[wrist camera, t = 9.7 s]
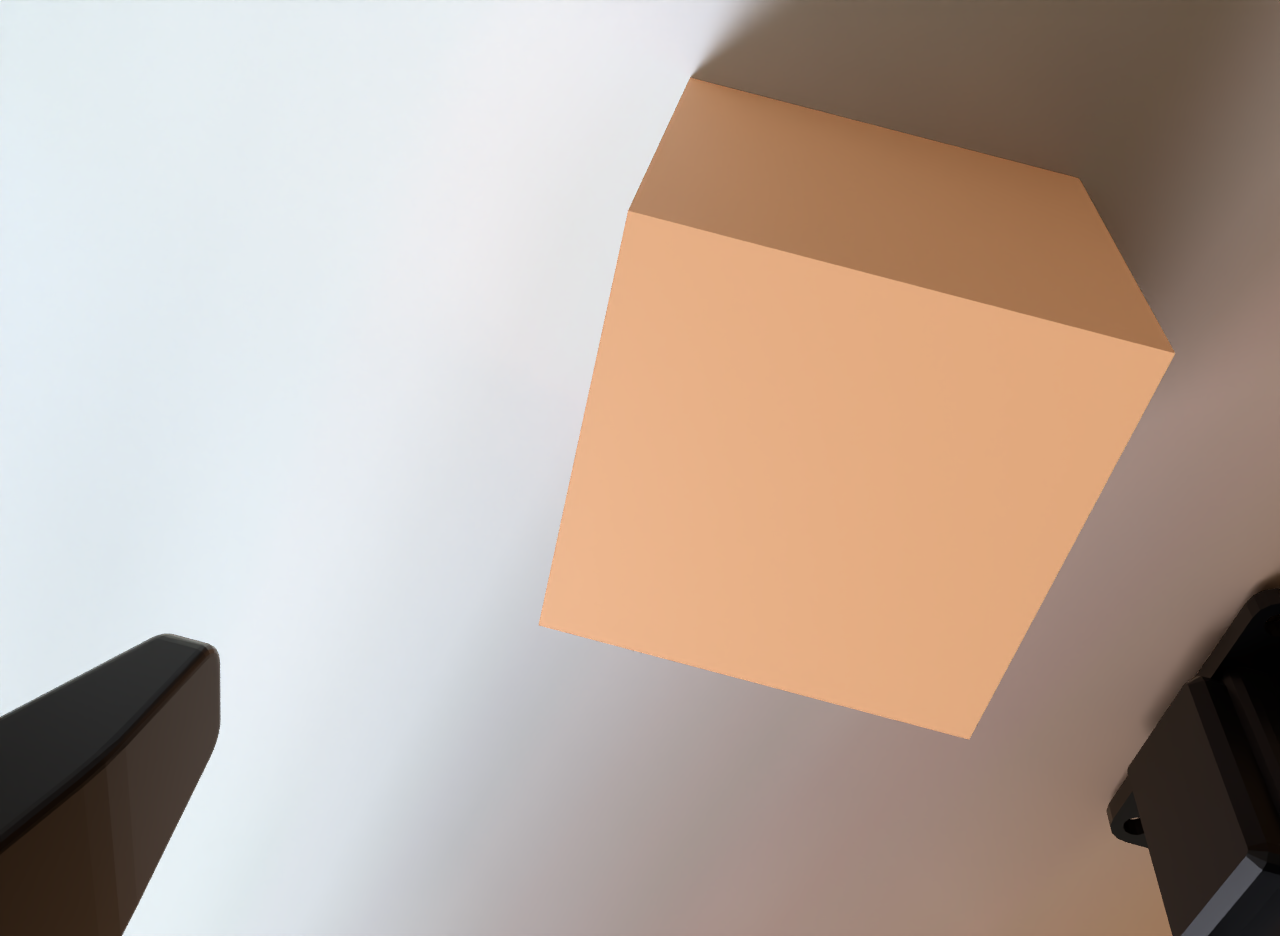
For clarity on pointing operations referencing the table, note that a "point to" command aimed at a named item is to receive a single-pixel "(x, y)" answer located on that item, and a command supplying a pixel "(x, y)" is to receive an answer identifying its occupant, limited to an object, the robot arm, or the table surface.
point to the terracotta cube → (846, 409)
